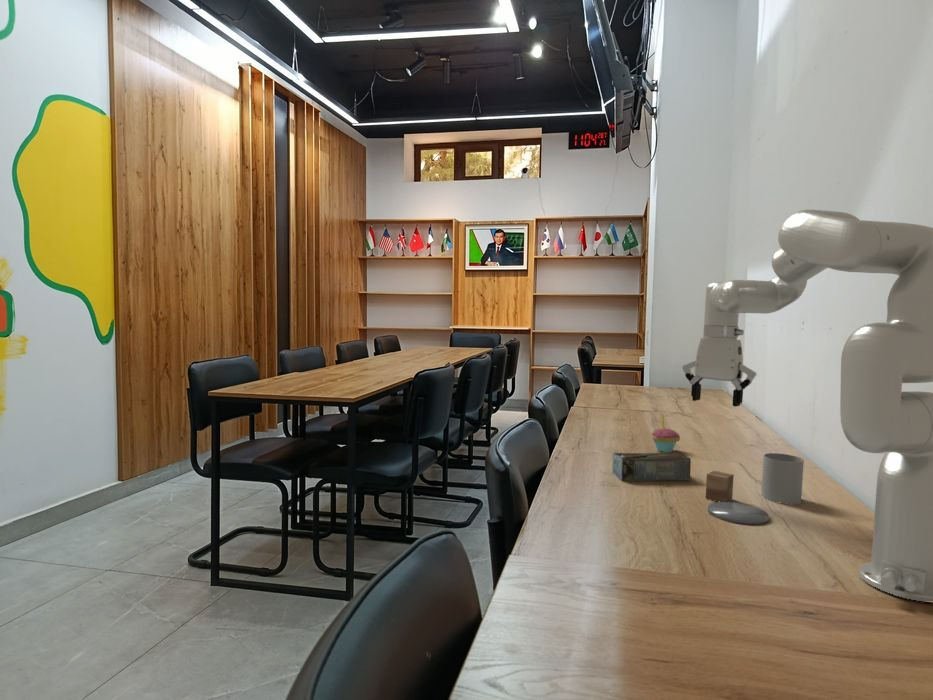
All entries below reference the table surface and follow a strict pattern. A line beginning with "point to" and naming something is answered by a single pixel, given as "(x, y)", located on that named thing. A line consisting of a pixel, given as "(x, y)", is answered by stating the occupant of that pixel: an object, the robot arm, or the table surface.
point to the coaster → (738, 513)
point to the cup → (782, 478)
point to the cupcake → (665, 438)
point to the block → (719, 486)
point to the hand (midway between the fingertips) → (715, 403)
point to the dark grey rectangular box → (651, 466)
